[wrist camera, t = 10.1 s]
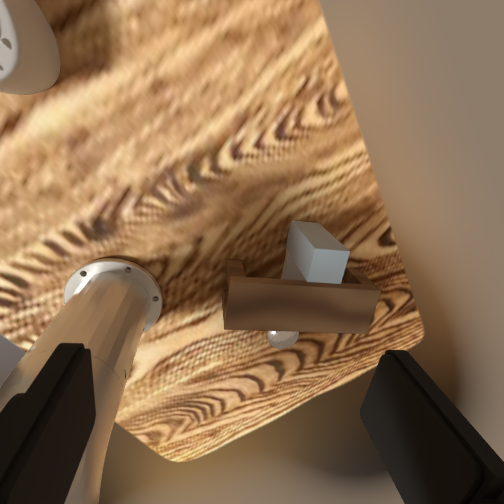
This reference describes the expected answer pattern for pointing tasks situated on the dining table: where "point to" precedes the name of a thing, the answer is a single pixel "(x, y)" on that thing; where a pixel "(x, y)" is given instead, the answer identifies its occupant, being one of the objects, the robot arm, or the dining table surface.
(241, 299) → the stand
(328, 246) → the grey block
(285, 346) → the token
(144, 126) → the dining table surface
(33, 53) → the lumpy-topped squat cylinder
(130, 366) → the robot arm
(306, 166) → the dining table surface
